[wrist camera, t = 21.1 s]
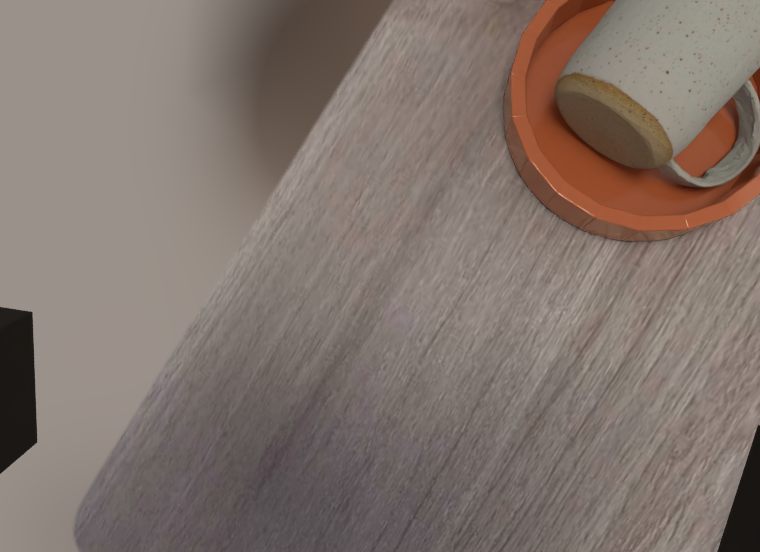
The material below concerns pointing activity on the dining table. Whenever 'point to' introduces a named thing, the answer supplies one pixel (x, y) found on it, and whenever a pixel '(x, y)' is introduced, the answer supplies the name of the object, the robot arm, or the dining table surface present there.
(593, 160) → the holder
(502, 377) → the dining table surface
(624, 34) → the ceramic mug
